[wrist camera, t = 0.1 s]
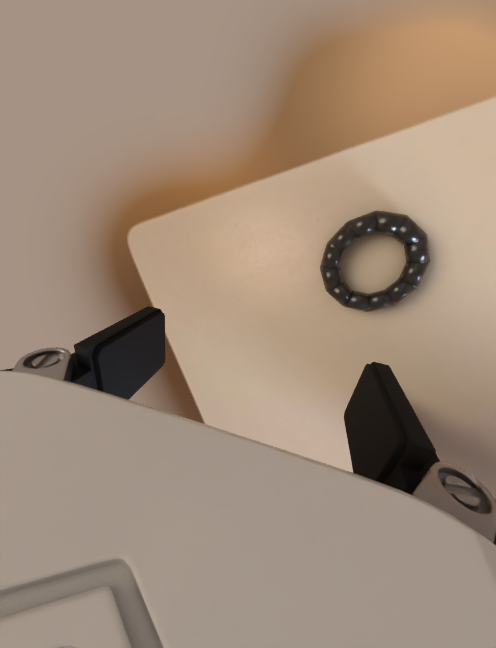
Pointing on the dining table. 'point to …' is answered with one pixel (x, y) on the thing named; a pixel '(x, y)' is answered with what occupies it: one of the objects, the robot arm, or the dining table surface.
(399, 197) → the dining table surface
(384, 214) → the ring
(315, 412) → the dining table surface
